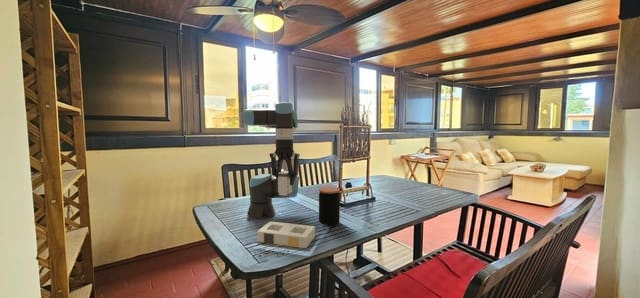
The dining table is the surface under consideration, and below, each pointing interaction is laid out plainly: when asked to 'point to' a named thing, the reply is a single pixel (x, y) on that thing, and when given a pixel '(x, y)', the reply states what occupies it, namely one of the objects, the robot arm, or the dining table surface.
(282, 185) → the plug
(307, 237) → the port box
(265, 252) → the dining table surface
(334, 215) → the coffee jar
